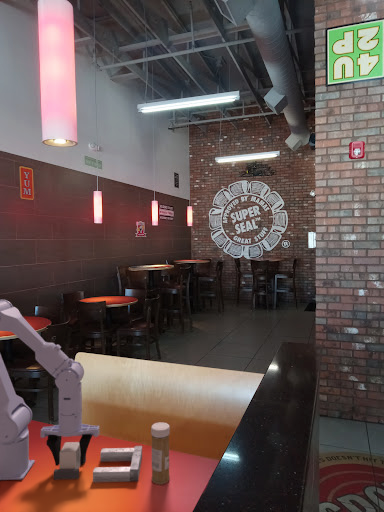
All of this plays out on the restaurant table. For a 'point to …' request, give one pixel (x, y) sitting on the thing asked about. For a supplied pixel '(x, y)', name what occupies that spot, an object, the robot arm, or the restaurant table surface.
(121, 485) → the restaurant table surface
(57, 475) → the pair of grey blocks
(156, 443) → the sprinkles bottle
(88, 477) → the restaurant table surface
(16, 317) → the robot arm
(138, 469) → the block
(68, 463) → the plug
